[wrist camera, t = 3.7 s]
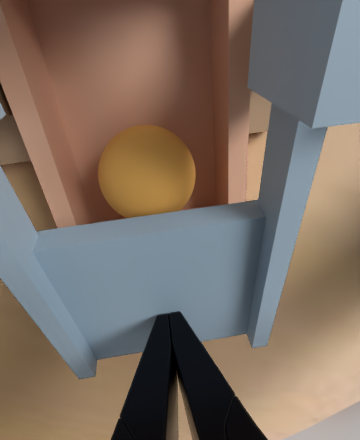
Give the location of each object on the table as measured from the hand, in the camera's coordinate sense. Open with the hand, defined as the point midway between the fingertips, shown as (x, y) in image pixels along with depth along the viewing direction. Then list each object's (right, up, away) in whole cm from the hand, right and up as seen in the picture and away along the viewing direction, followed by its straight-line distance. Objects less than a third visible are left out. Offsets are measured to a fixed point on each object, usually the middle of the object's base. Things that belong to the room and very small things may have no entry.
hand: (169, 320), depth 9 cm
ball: (-1, +5, 0) cm, 5 cm away
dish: (-1, +8, +1) cm, 8 cm away
